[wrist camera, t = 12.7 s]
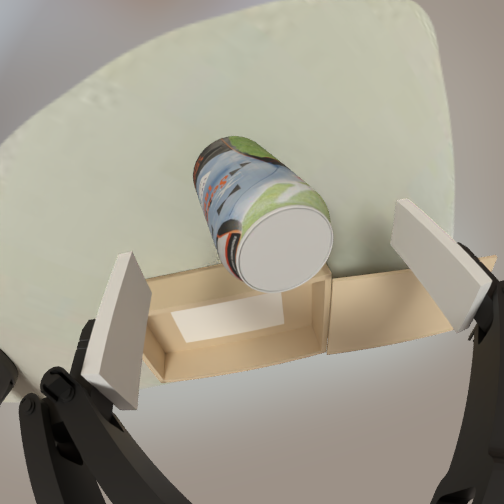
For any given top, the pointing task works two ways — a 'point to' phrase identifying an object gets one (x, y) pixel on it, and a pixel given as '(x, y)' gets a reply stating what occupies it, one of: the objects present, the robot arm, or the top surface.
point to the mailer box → (231, 324)
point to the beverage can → (261, 216)
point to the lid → (383, 310)
